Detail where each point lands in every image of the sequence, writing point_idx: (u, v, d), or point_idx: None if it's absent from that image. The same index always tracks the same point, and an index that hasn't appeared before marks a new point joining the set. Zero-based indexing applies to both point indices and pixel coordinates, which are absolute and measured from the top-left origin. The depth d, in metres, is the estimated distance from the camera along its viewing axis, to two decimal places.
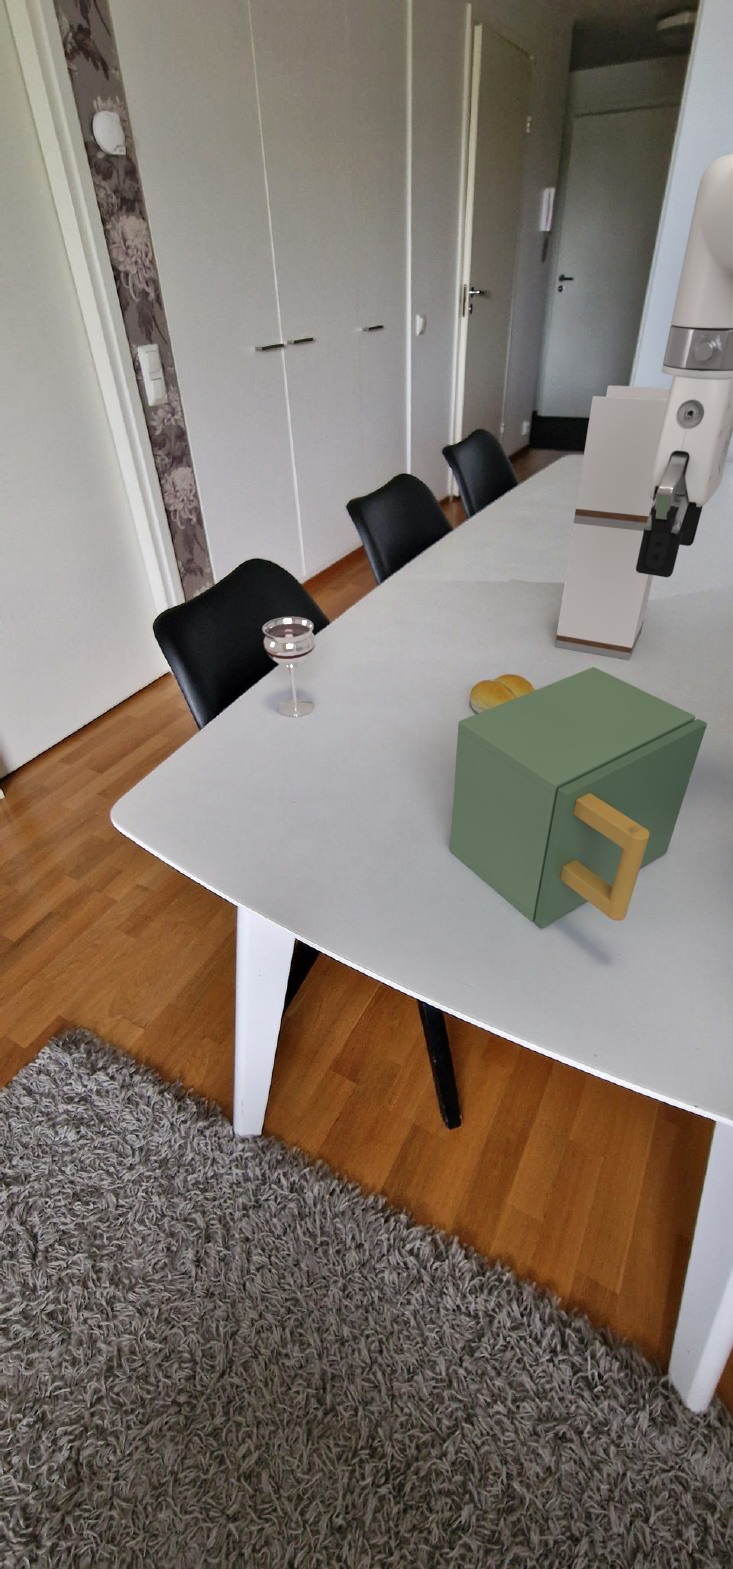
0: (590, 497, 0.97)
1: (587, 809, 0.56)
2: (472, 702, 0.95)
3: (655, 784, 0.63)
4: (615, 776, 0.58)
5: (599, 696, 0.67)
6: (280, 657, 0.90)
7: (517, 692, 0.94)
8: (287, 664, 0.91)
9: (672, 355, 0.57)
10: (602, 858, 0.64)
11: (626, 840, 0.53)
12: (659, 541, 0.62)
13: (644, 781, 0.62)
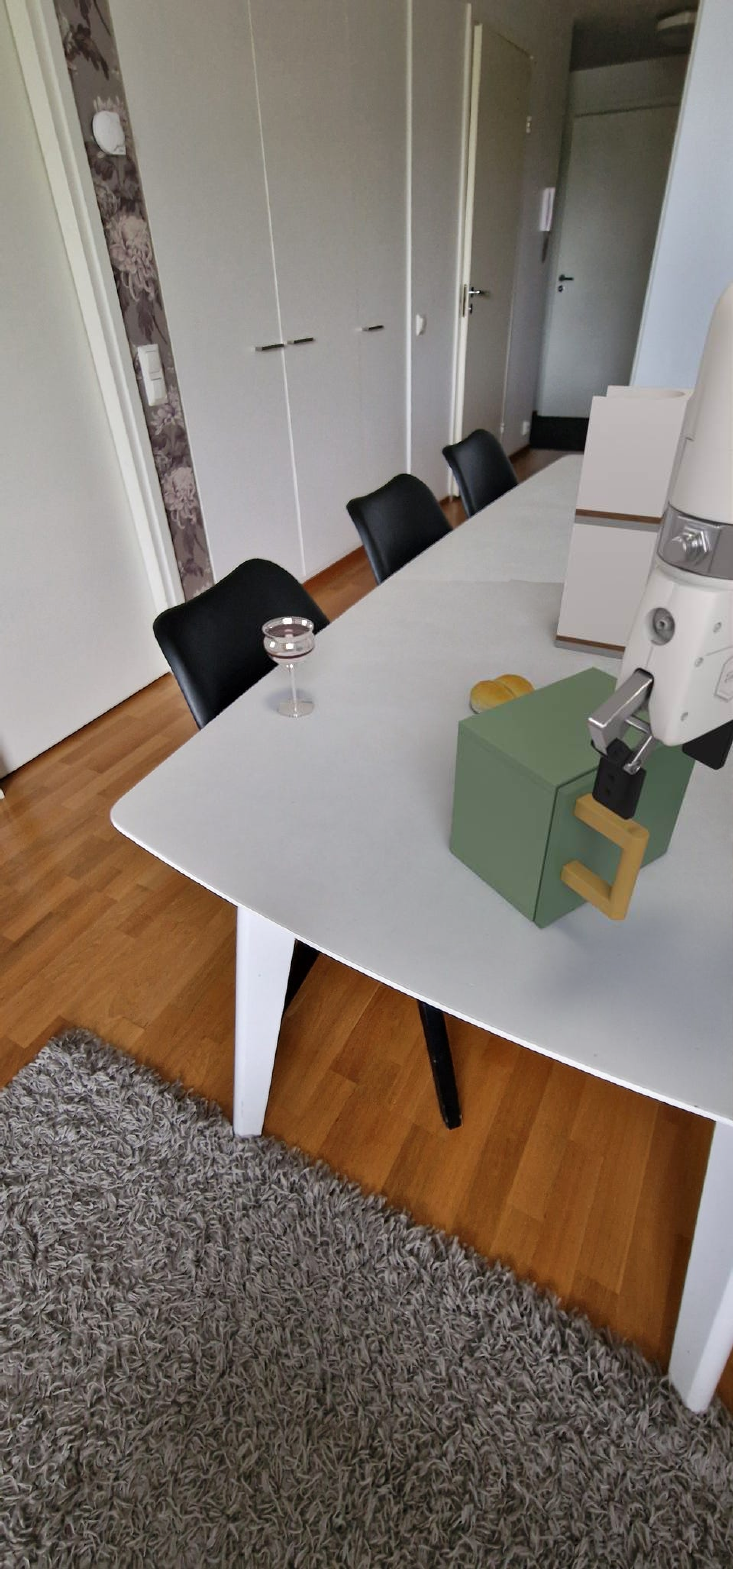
0: (590, 497, 0.97)
1: (587, 809, 0.56)
2: (472, 702, 0.95)
3: (655, 784, 0.63)
4: None
5: (599, 696, 0.67)
6: (280, 657, 0.90)
7: (517, 692, 0.94)
8: (287, 664, 0.91)
9: (660, 538, 0.40)
10: (602, 858, 0.64)
11: (626, 840, 0.53)
12: (612, 774, 0.45)
13: (644, 781, 0.62)
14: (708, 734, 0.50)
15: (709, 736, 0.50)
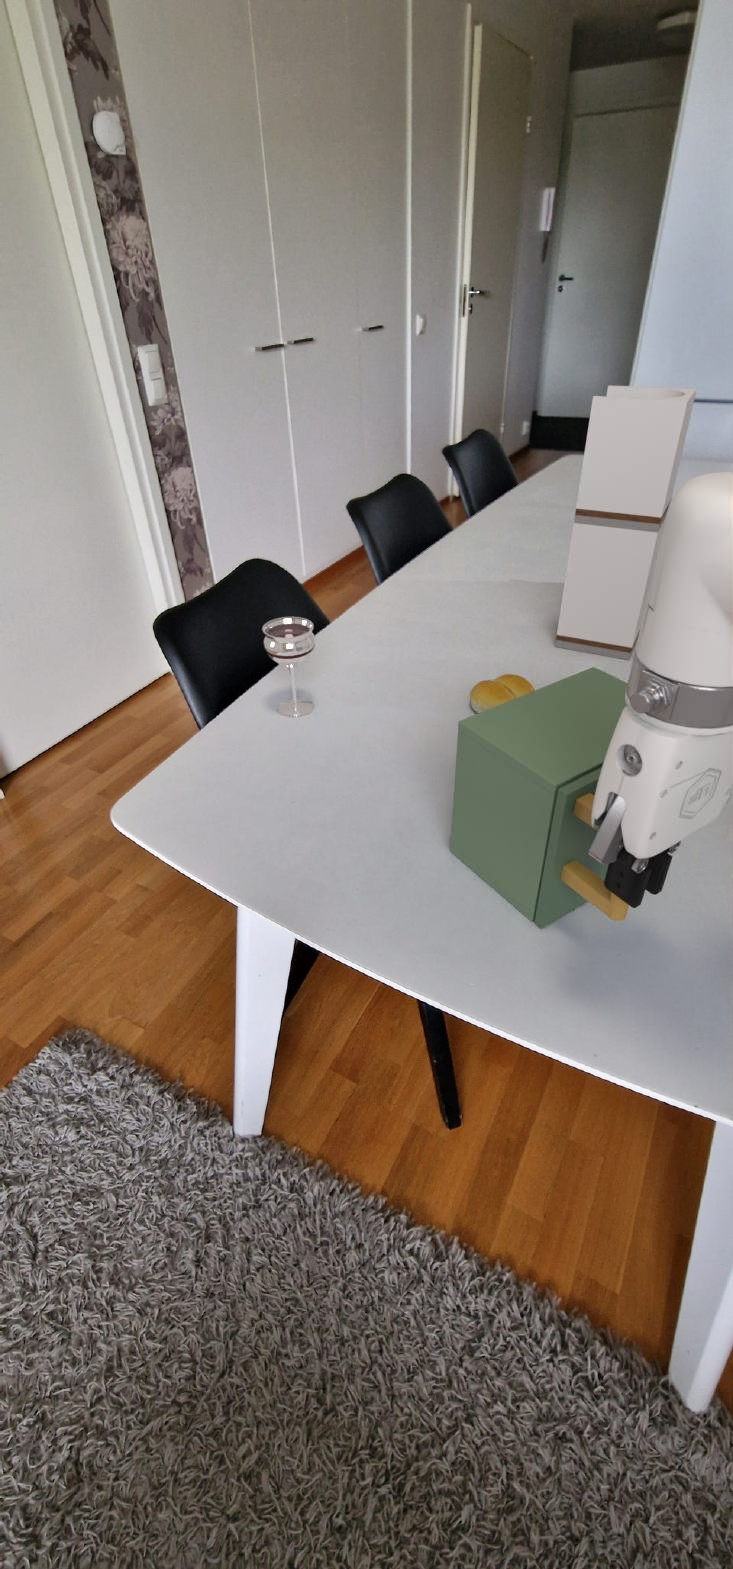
0: (590, 497, 0.97)
1: (587, 809, 0.56)
2: (472, 702, 0.95)
3: None
4: None
5: (599, 696, 0.67)
6: (280, 657, 0.90)
7: (517, 692, 0.94)
8: (287, 664, 0.91)
9: (629, 681, 0.46)
10: None
11: None
12: (622, 871, 0.53)
13: None
14: None
15: (647, 865, 0.55)
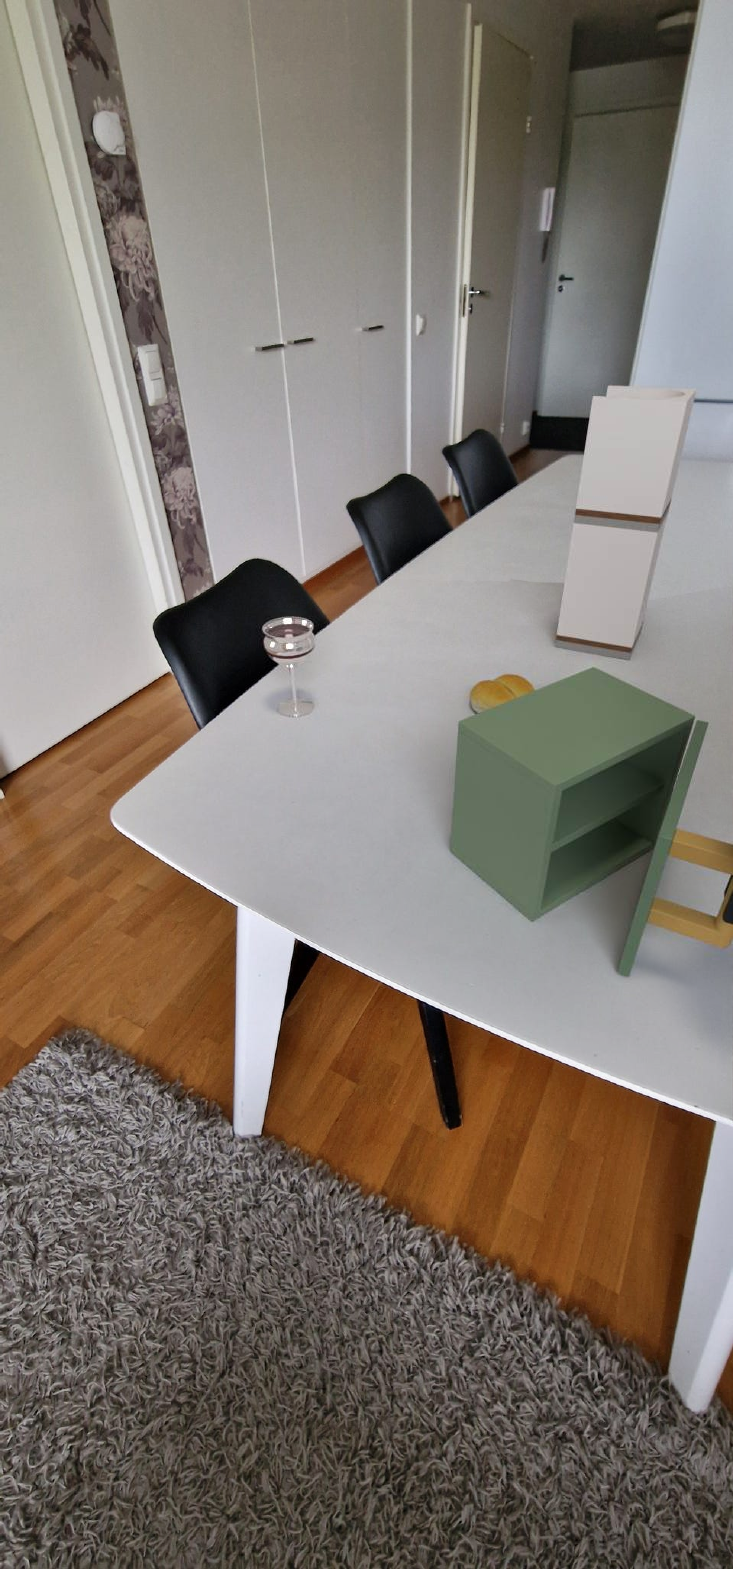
0: (590, 497, 0.97)
1: (689, 847, 0.52)
2: (472, 702, 0.95)
3: None
4: None
5: (599, 696, 0.67)
6: (280, 657, 0.90)
7: (517, 692, 0.94)
8: (287, 664, 0.91)
9: None
10: None
11: None
12: None
13: None
14: None
15: None
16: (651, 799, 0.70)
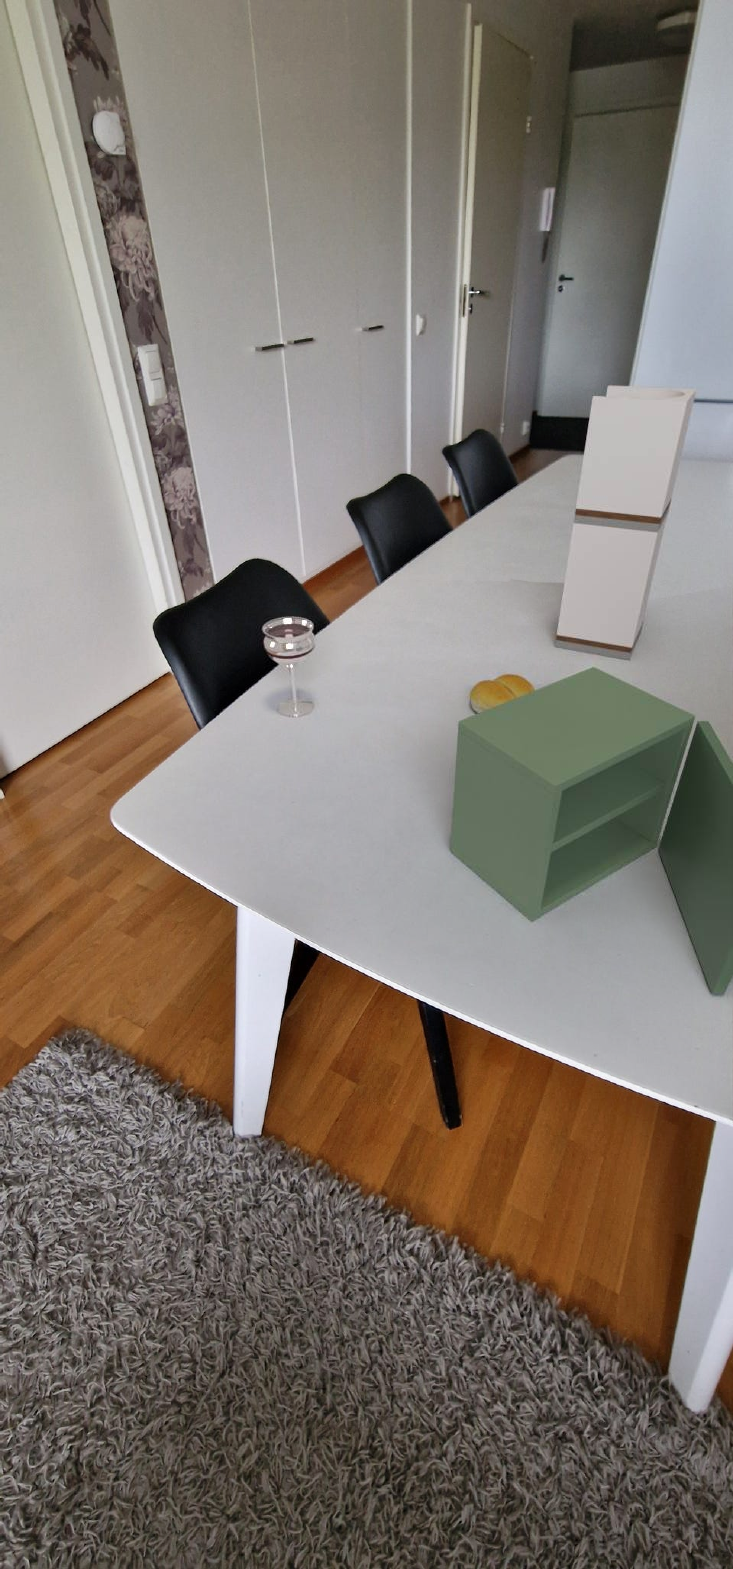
0: (590, 497, 0.97)
1: None
2: (472, 702, 0.95)
3: None
4: None
5: (599, 696, 0.67)
6: (280, 657, 0.90)
7: (517, 692, 0.94)
8: (287, 664, 0.91)
9: None
10: None
11: None
12: None
13: None
14: None
15: None
16: (651, 799, 0.70)
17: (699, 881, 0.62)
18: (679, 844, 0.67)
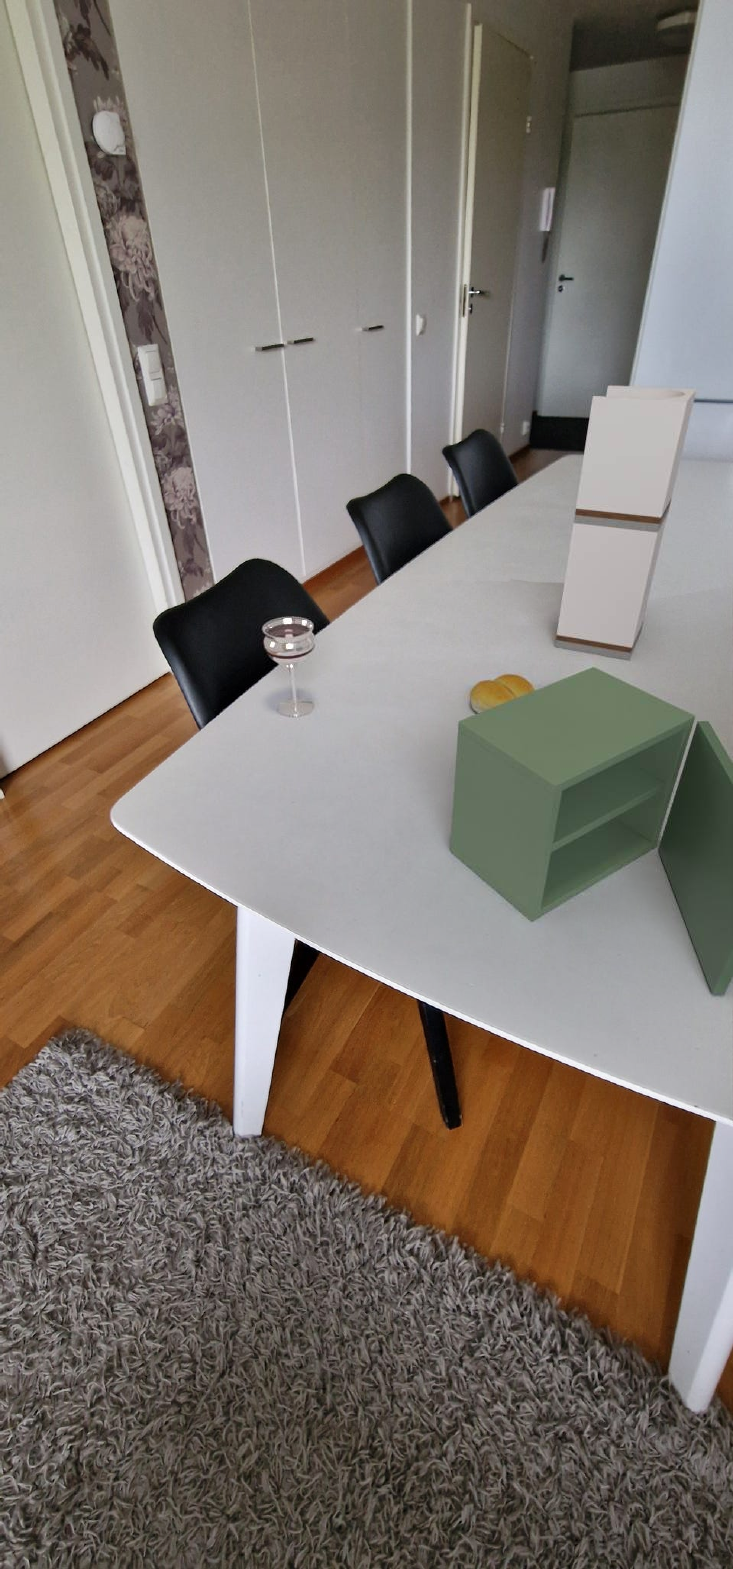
0: (590, 497, 0.97)
1: None
2: (472, 702, 0.95)
3: None
4: None
5: (599, 696, 0.67)
6: (280, 657, 0.90)
7: (517, 692, 0.94)
8: (287, 664, 0.91)
9: None
10: None
11: None
12: None
13: None
14: None
15: None
16: (651, 799, 0.70)
17: (699, 881, 0.62)
18: (679, 844, 0.67)
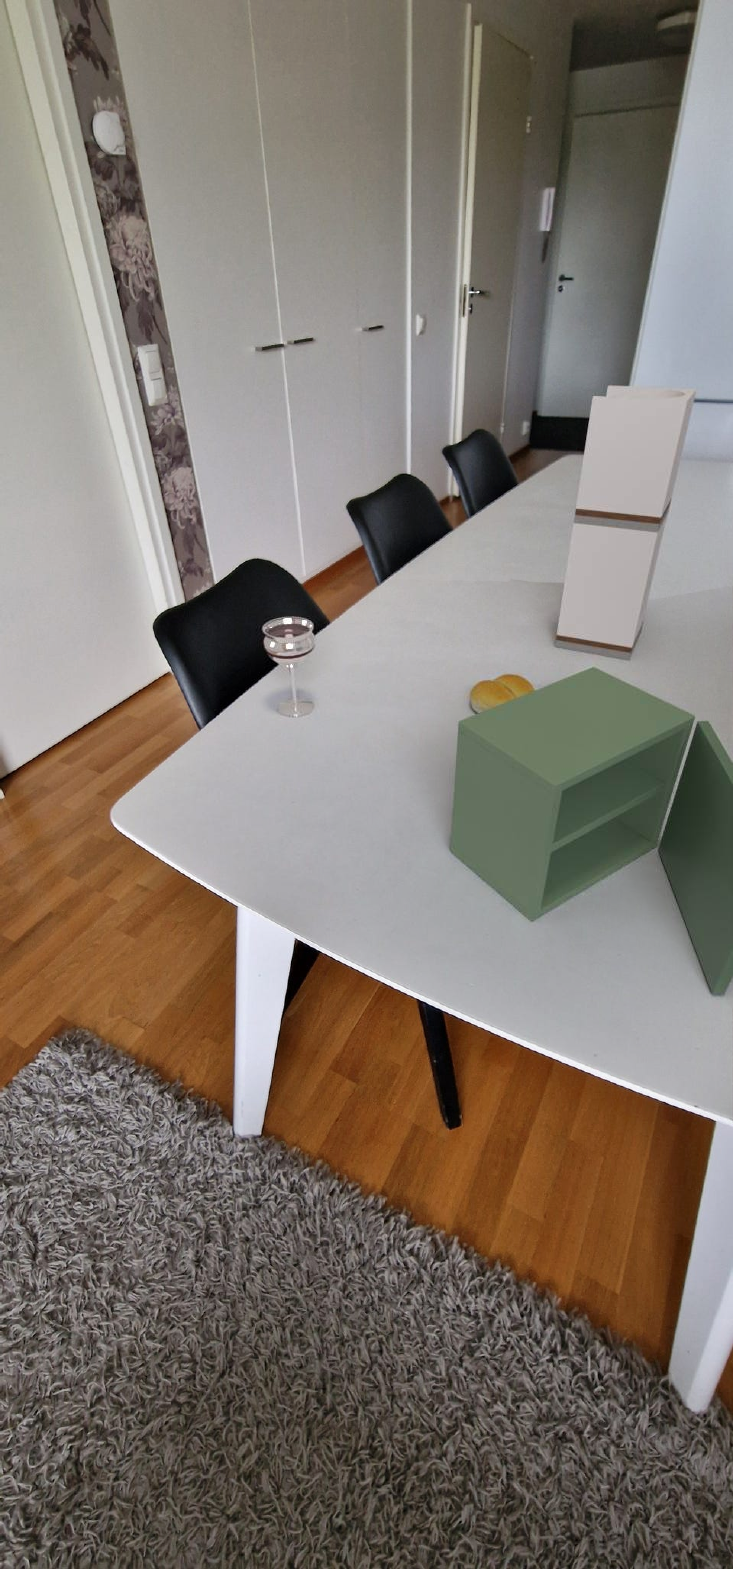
0: (590, 497, 0.97)
1: None
2: (472, 702, 0.95)
3: None
4: None
5: (599, 696, 0.67)
6: (280, 657, 0.90)
7: (517, 692, 0.94)
8: (287, 664, 0.91)
9: None
10: None
11: None
12: None
13: None
14: None
15: None
16: (651, 799, 0.70)
17: (699, 881, 0.62)
18: (679, 844, 0.67)
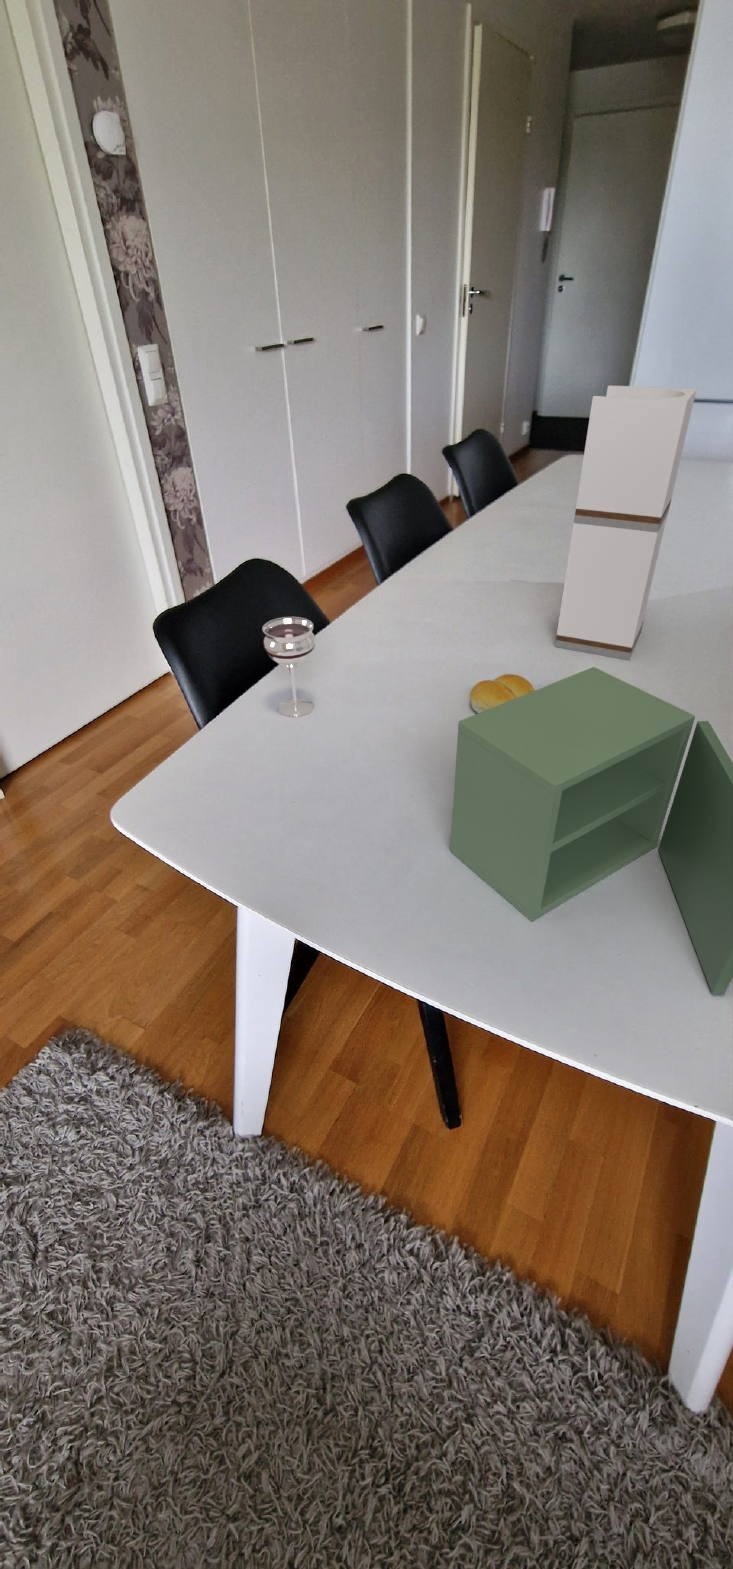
0: (590, 497, 0.97)
1: None
2: (472, 702, 0.95)
3: None
4: None
5: (599, 696, 0.67)
6: (280, 657, 0.90)
7: (517, 692, 0.94)
8: (287, 664, 0.91)
9: None
10: None
11: None
12: None
13: None
14: None
15: None
16: (651, 799, 0.70)
17: (699, 881, 0.62)
18: (679, 844, 0.67)
